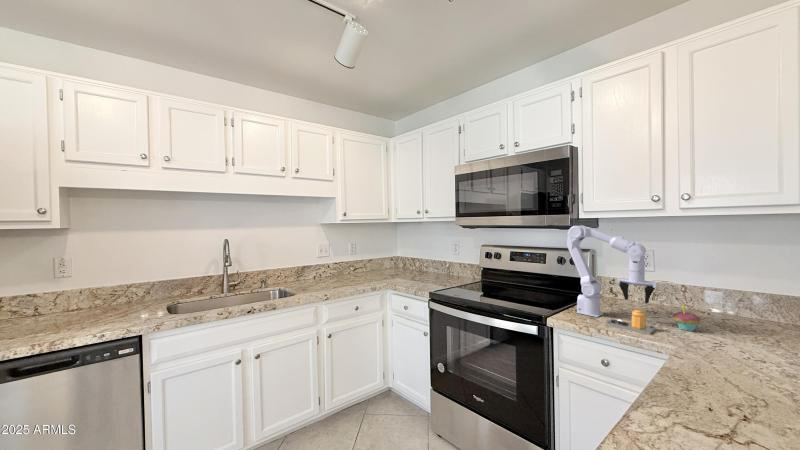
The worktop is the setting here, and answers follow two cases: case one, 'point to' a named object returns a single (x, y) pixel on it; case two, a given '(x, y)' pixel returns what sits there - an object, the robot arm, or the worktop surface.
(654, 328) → the plate
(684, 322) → the cupcake
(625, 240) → the robot arm
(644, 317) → the acorn cap nut
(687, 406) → the worktop surface
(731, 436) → the worktop surface
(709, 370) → the worktop surface
